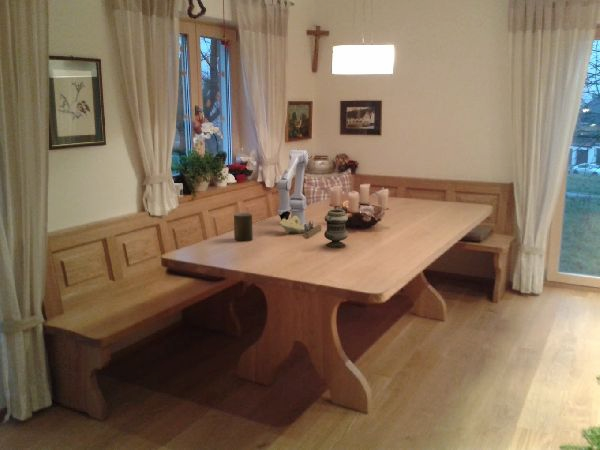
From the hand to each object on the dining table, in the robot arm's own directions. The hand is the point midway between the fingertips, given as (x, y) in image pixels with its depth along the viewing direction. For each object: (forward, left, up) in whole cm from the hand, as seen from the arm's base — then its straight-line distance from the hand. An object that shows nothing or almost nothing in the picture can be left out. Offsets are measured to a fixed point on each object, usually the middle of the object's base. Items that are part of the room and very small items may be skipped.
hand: (284, 224), depth 320 cm
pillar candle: (+24, -13, -4) cm, 28 cm away
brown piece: (0, +16, -4) cm, 16 cm away
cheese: (+3, +6, -4) cm, 8 cm away
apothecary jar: (+19, +37, -4) cm, 41 cm away
